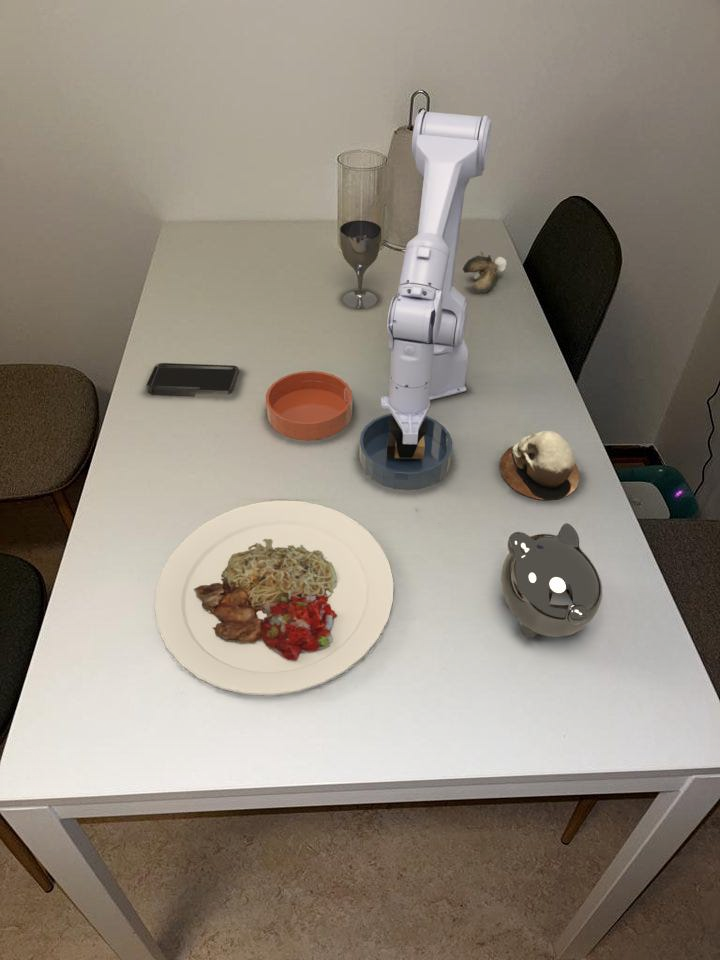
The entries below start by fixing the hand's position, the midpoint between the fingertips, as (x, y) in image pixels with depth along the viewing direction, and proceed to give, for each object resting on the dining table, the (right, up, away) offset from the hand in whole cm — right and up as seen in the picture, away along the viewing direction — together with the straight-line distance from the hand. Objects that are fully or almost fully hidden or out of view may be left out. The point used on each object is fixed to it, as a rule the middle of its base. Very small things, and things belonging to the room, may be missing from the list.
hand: (405, 449), depth 105 cm
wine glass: (-7, +32, +37) cm, 50 cm away
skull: (+20, -4, 0) cm, 21 cm away
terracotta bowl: (-15, +6, +10) cm, 19 cm away
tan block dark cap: (0, -1, 0) cm, 1 cm away
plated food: (-18, -20, -17) cm, 31 cm away
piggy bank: (+16, -22, -18) cm, 32 cm away
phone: (-36, +12, +16) cm, 41 cm away
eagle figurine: (+19, +37, +42) cm, 60 cm away
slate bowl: (0, -2, +2) cm, 2 cm away
